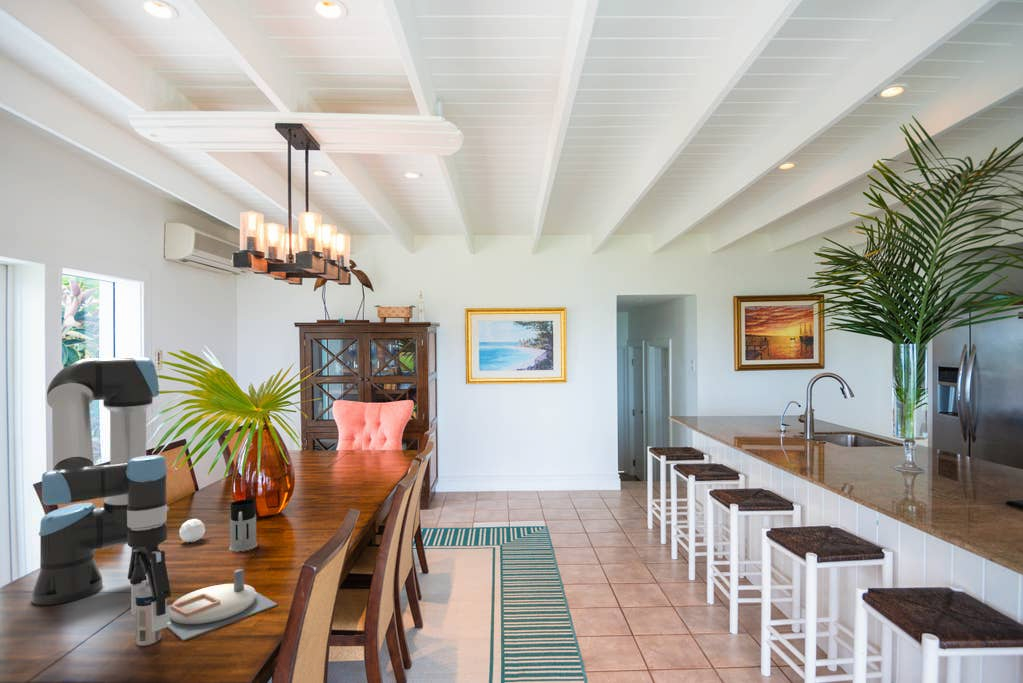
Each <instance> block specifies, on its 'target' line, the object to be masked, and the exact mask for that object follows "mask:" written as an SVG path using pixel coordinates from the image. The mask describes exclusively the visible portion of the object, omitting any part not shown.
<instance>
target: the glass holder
mask: <svg viewBox="0 0 1023 683" xmlns="http://www.w3.org/2000/svg"><path fill="white" fill-rule="evenodd" d="M229 525H230V526H229V529H230V530H229V532H230V534H229V536H230V537H229V538H230V545H229V548H228V551H230V550H231V551H230V552H232V551H235V553H237V552H238V553H240V552H239V551H242V552H246V550H247V551H251V550H253V548H254V549H256V548H257V547H258V546H257V545H258V541H257V513H256V500H255V499H239V500H235V501H232V502H231V503H230V517H229ZM255 547H256V548H255ZM250 549H251V550H250Z"/></svg>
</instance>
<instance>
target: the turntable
mask: <svg viewBox="0 0 1023 683" xmlns="http://www.w3.org/2000/svg"><path fill="white" fill-rule="evenodd" d="M244 571H245V569H243V568H238V569H235V570H234V571H233V583H223V584H217V585H211V586H207V587H203V588H200V589H196V590H193V591H192V592H188V593H187V594H185V595H183V596H181V597H179V598H178V599H176V600H175V601H173V603H172V605H171V604H170V605H171V608H170V617H171V619H172V620H173V621H175V622H177V623H182V624H202V623H209V622H214V621H218V620H222V619H225V618H228V617H231V616H233V615H236V614H238V613H240V612H242V611H244V610H245V609H247V608H248V607H250V606H251V605H252V604H253V603H254V601H255V592H256V589H255V588H254V587H253V586H251V585H249V584H245V572H244Z"/></svg>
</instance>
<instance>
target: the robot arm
mask: <svg viewBox="0 0 1023 683" xmlns="http://www.w3.org/2000/svg"><path fill="white" fill-rule="evenodd" d="M159 388H160V386H159V379H158V373H157V370H156V366H155V363H154V361H153V360H152V359H151V358H149V357H142V356H141V357H138V356H136V357H135V356H127V357H126V356H123V357H99V358H98V357H97V358H95V357H90V358H83V359H79V360H76V361H73V362H72V363H70V364H68V365H66V366H65V367H63V368H62V369H60V371H59V372H58V373H56V375H55V376H54V377H53V378H52V380H51V381H50V383H49V385H48V388H47V391H46V403H47V404H48V406H49V407H50V408H51V415H52V416H51V421H52V424H51V428H52V431H51V432H52V470H50V471H45V472H44V473H42V475H41V501H42V503H43V504H44V505H45V506H55V505H57V506H58V505H67V506H63V507H60V508H57V509H54V510H52V511H50V512H48V513H47V514H45V515H44V516H43V517H42V518H41V519H40V524H39V525H40V527H39V528H40V529H39V532H38V536H40V539H39V540H40V546H39V547H40V550H39V551H40V552H39V553H40V558H39V560H40V561H39V562H40V563H39V564H40V566H39V567H40V570H39V573H38V576H37V578H36V581H35V583H34V586H33V590H32V591H31V602H32V604H34V605H38V606H52V605H58V604H65V603H70V602H73V601H77V600H80V599H83V598H85V597H88V596H91V595H92V594H94V593H97V592H98V591H100V589H102V587H103V576H102V574H101V572H100V569H99V567H98V565H97V563H96V561H95V551H96V550H100V549H101V550H102V549H106V548H110V547H115V546H122V545H126V544H127V546H128V547H129V548H131V553H130V554H131V555H130V560H129V566H128V573H127V580H129V582H130V585H131V588H130V591H131V592H130V593H131V594H130V596H131V602H130V603H131V605H130V606H131V607H130V608H131V615H136V593H137V592H138V590H139V589H140V588H142V587H145V586H147V585H146V584H147V583H146V581H147V580H148V583H149V585H150V588H151V592H152V596H153V598H152V599H151V600H150V603H151V605H152V632H154V631H157V630H160V629H161V630H162V629H165V628H167V606H168V604H167V602H168V600H167V599H168V598H170V597H171V596H172V592H171V587H170V581H169V574H168V570H167V564H166V552H165V550H160V549H159V545H160V544H161V543H163V542H165V541H166V540H168V523H166V521H168V520H167V519H168V517H167V515H168V514H167V512H168V511H170V507H169V506H167V503H168V502H167V472H168V468H167V460H166V457H165V456H163V455H158V454H157V455H156V454H151V455H147V409H148V408H149V407H150V406H152V404H153V398H156V397H158V396H159V395H160V391H159V390H160V389H159ZM101 400H103V407H104V408H105V409H107V410H108V411H109V413H110V414H109V417H110V418H109V422H110V423H109V429H110V430H109V447H110V448H109V452H110V453H109V454H110V455H109V464H108V463H107V464H101V465H95V464H94V450H93V449H94V448H93V436H92V422H91V408H90V405H91V404H93V401H101ZM103 498H104V499H103ZM96 499H97V500H98V499H103V505H100V506H96V505H95V504H94V503H93V502H90V500H96ZM84 501H89V502H84ZM78 502H79V503H78ZM80 502H81V503H80ZM82 502H83V503H82ZM72 503H74V504H72ZM68 504H70V505H68ZM160 593H161V594H160Z"/></svg>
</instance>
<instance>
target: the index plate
mask: <svg viewBox="0 0 1023 683" xmlns="http://www.w3.org/2000/svg"><path fill="white" fill-rule="evenodd" d="M172 604H173V603H172ZM172 604H169V605H168V604H167V627H166V628H167V629H168V630H170V631H171V632H172V633H173V634H174V635H175V636H177V637H178V638H179V639H180V640H181V641H182V642H185V641H188V640H190V639H193V638H195V637H199V636H200V635H203V634H206V633H208V632H212V631H214V630H217V629H219V628H221V627H224V626H227V625H230V624H232V623H235V622H237V621H240V620H243V619H245V618H248V617H250V616H253V615H256V614H259V613H262V612H263V611H267V610H270V609H272V608H274V607H277V606H278V602H275V601H273V600H272V599H270V598H268V597H266V596H265V595H262V594H261V593H259V592H257V591H255V601H254V603H253V604H252V605H251V606H250V607H248V608H247V609H245V610H244V611H242V612H240V613H238V614H236V615H233V616H231V617H228V618H225V619H222V620H218V621H214V622H209V623H202V624H182V623H177V622H175V621H173V620H172V619H171V617H170V608H171V605H172Z"/></svg>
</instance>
